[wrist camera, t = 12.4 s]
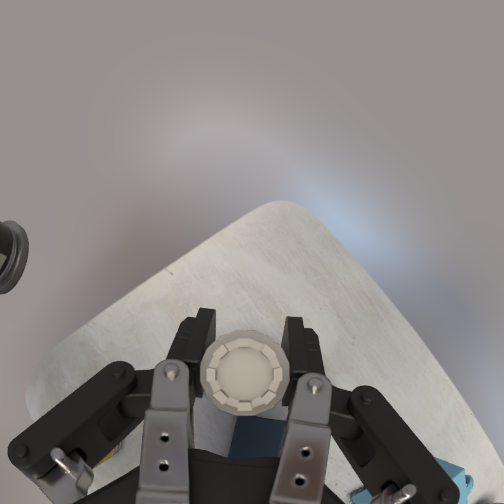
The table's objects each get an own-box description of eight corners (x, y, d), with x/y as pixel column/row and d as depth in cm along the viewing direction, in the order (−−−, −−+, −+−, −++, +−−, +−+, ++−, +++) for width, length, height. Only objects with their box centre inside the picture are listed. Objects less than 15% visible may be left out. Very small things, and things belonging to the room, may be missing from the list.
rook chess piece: (236, 416, 15) (226, 459, 8) (194, 356, 16) (153, 353, 9) (297, 376, 16) (337, 387, 9) (255, 317, 17) (261, 284, 10)
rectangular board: (274, 540, 21) (274, 543, 20) (209, 531, 21) (208, 534, 20) (310, 424, 27) (311, 425, 26) (238, 413, 27) (238, 414, 27)
